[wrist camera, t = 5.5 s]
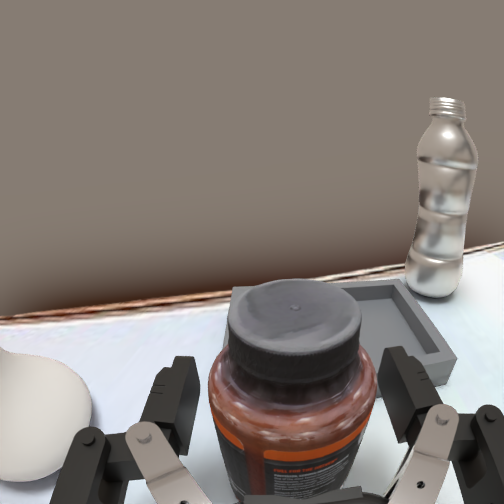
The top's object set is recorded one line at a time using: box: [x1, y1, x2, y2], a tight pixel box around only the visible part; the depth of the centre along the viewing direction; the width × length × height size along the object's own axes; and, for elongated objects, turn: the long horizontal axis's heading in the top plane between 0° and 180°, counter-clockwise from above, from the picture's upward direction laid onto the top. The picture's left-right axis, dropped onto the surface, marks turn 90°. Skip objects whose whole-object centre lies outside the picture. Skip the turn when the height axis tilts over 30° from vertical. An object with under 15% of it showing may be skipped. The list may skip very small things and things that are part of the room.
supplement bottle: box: [208, 279, 377, 502], centre depth 11 cm, size 6×6×11 cm
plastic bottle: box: [405, 97, 478, 298], centre depth 26 cm, size 6×7×20 cm
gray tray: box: [222, 279, 457, 398], centre depth 23 cm, size 16×12×2 cm
